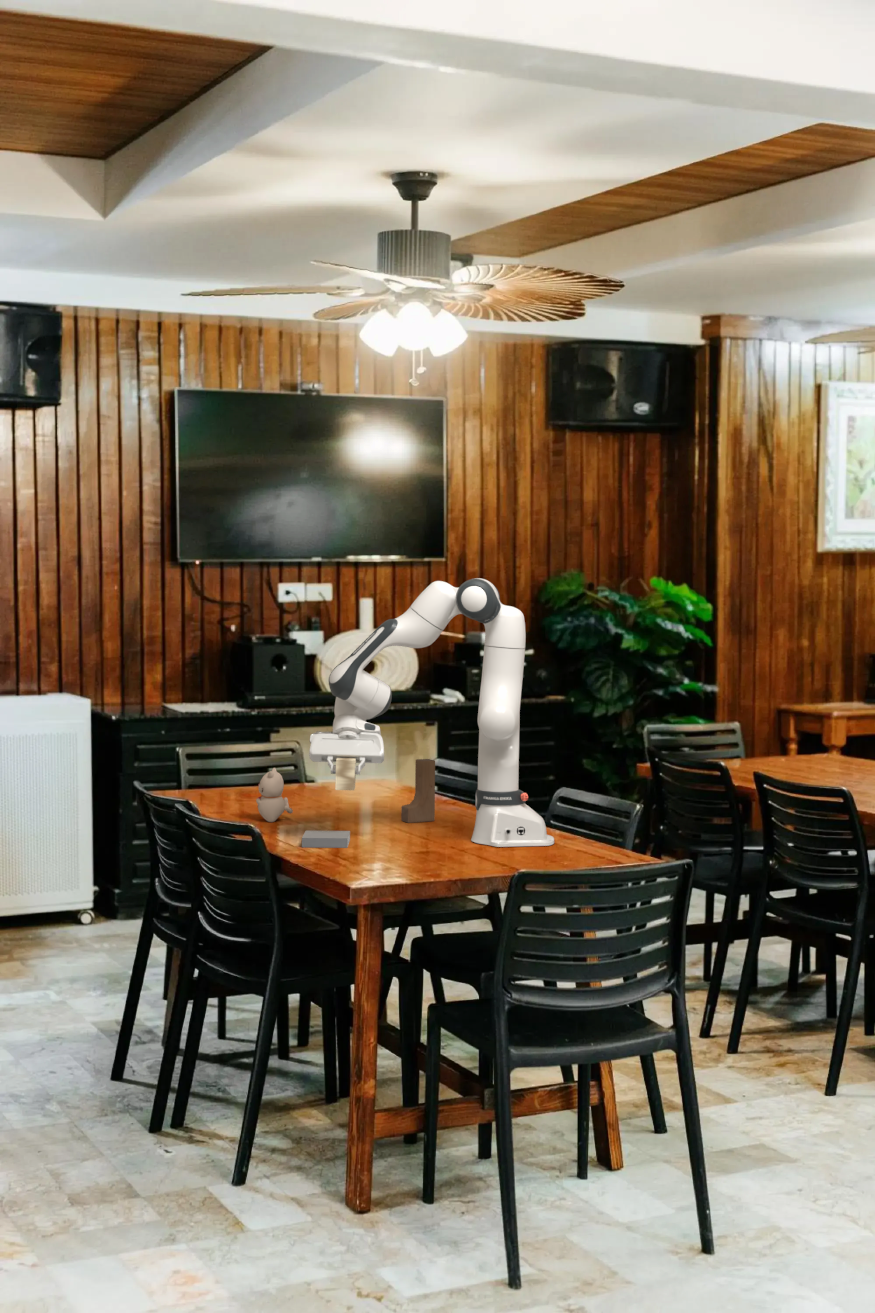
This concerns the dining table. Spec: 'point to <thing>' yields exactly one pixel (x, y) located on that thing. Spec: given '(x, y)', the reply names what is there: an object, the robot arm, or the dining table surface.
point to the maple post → (345, 774)
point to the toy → (272, 796)
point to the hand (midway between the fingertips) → (345, 772)
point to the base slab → (326, 839)
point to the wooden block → (422, 794)
